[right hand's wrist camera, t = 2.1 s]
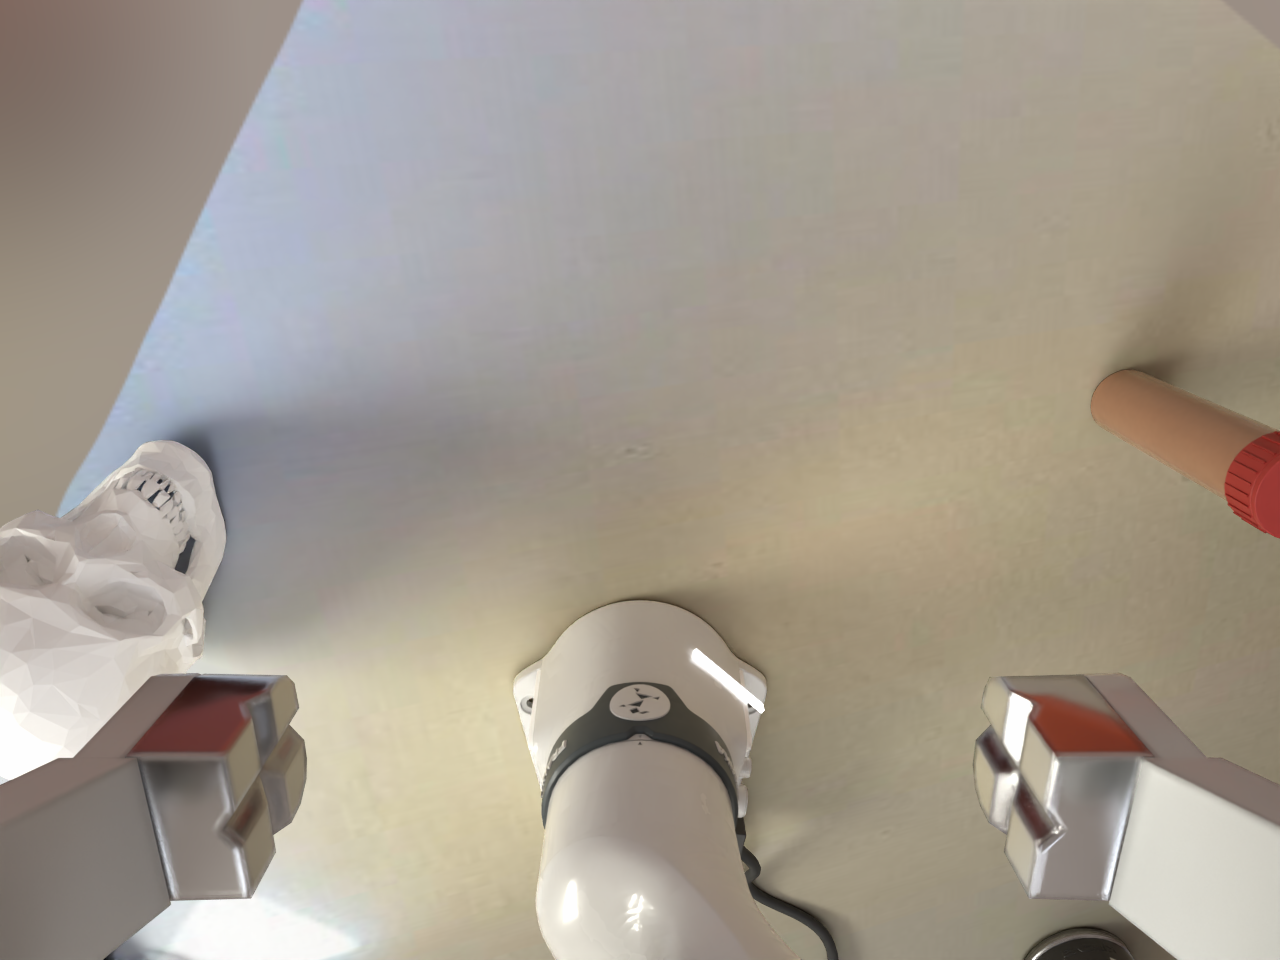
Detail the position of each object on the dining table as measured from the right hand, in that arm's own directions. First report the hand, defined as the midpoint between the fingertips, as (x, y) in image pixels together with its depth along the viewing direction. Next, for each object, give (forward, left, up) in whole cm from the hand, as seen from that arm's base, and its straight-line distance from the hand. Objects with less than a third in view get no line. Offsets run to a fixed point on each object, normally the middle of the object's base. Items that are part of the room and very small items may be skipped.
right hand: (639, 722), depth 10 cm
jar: (-9, -32, -48) cm, 58 cm away
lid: (-9, -32, -31) cm, 46 cm away
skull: (-21, +35, -48) cm, 63 cm away
